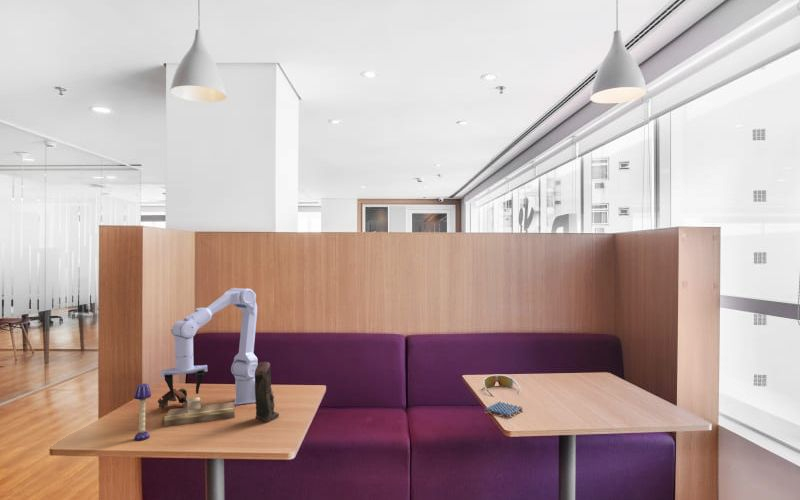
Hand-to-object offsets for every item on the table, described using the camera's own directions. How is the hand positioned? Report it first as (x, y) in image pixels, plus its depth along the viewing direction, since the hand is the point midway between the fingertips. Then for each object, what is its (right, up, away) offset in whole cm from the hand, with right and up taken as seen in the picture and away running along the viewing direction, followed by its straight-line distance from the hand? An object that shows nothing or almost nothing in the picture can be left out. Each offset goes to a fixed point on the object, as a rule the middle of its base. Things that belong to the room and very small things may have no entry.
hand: (185, 394), depth 159 cm
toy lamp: (-6, -9, -14) cm, 18 cm away
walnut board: (+4, -9, +4) cm, 11 cm away
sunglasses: (+115, -8, +28) cm, 119 cm away
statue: (+28, -9, 0) cm, 29 cm away
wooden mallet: (+1, -7, +3) cm, 8 cm away
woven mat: (+111, -8, +3) cm, 111 cm away
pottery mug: (-10, -10, +14) cm, 20 cm away
